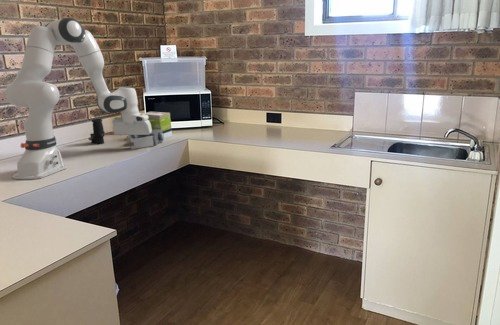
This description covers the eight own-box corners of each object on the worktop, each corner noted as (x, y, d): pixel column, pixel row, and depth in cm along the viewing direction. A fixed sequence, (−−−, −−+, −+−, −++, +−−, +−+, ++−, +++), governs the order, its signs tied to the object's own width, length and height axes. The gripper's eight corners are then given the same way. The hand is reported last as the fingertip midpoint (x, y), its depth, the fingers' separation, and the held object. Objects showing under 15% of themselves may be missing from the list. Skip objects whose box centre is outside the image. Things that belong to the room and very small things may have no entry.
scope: (98, 117, 235) (107, 118, 228) (101, 140, 238) (110, 142, 232) (84, 119, 229) (93, 121, 222) (88, 143, 233) (97, 145, 226)
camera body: (159, 145, 220) (157, 132, 218) (131, 145, 223) (129, 132, 221) (166, 140, 232) (165, 127, 230) (139, 140, 234) (138, 128, 232)
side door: (156, 145, 219) (155, 136, 217) (131, 149, 213) (130, 139, 212) (155, 144, 221) (154, 135, 219) (130, 148, 215) (129, 138, 213)
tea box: (141, 138, 239) (138, 113, 235) (153, 135, 247) (150, 111, 243) (161, 140, 232) (159, 114, 228) (172, 136, 240) (170, 111, 236)
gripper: (109, 118, 212) (112, 144, 216) (147, 117, 209) (149, 144, 213) (114, 116, 218) (118, 141, 222) (151, 115, 215) (154, 141, 219)
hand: (134, 142), depth 217 cm, fingers closed
